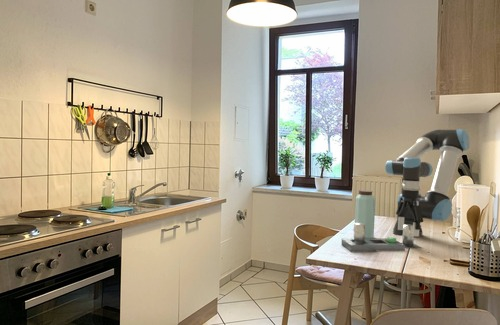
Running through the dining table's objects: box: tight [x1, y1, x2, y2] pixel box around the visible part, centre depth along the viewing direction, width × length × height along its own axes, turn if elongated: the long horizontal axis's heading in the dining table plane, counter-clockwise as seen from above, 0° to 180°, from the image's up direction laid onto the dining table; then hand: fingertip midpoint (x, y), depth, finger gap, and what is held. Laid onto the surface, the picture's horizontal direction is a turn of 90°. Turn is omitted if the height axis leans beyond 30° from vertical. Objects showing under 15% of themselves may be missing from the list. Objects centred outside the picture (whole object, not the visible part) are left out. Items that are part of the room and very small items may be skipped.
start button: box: [387, 236, 397, 243], centre depth 175 cm, size 4×4×2 cm
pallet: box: [341, 237, 406, 253], centre depth 174 cm, size 26×12×3 cm, turn 96°
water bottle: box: [354, 189, 376, 238], centre depth 192 cm, size 10×10×25 cm
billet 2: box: [401, 224, 415, 247], centre depth 177 cm, size 5×5×10 cm
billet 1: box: [353, 222, 365, 244], centre depth 173 cm, size 5×5×10 cm
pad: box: [405, 243, 423, 249], centre depth 178 cm, size 10×10×1 cm
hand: (407, 233), depth 177 cm, fingers open, 13 cm apart
